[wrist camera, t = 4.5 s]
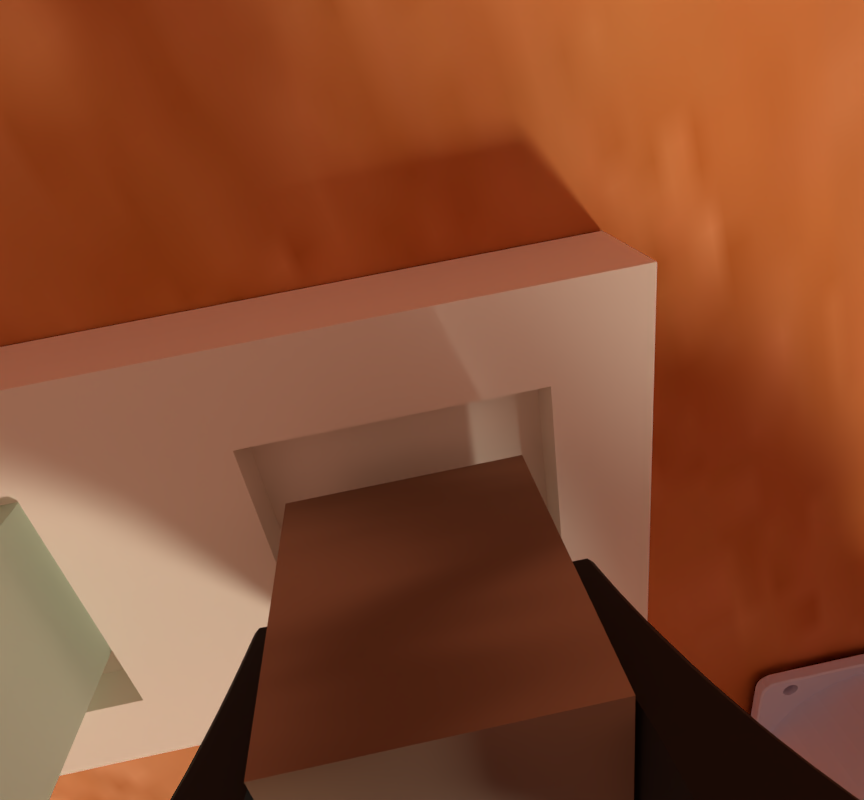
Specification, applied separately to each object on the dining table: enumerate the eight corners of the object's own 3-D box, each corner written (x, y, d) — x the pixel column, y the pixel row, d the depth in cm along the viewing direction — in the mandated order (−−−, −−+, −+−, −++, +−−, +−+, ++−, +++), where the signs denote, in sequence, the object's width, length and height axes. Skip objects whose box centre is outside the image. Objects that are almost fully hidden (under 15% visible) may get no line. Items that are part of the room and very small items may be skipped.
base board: (601, 230, 12) (656, 262, 10) (608, 575, 17) (646, 647, 15) (-381, 420, 12) (-551, 498, 9) (-88, 724, 16) (-155, 822, 14)
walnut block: (521, 454, 11) (634, 695, 7) (538, 618, 13) (632, 881, 9) (285, 503, 11) (243, 782, 7) (341, 661, 13) (338, 949, 9)
